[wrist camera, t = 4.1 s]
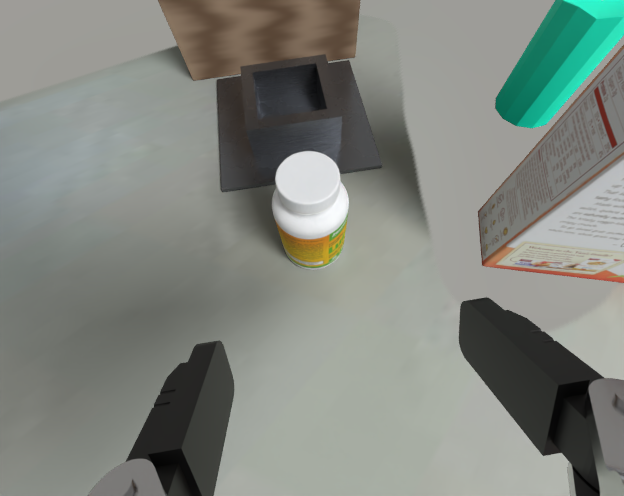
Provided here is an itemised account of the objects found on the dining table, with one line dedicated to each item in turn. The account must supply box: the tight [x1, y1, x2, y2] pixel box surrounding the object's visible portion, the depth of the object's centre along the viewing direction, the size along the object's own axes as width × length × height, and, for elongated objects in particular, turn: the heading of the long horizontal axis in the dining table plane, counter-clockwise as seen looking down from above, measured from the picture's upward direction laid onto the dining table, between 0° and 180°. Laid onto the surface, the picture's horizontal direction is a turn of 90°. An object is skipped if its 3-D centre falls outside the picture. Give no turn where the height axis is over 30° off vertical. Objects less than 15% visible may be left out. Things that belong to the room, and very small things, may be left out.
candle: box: [495, 0, 624, 128], centre depth 27 cm, size 6×6×12 cm
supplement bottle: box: [272, 151, 349, 270], centre depth 22 cm, size 5×5×10 cm
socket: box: [217, 54, 382, 192], centre depth 31 cm, size 16×16×4 cm
